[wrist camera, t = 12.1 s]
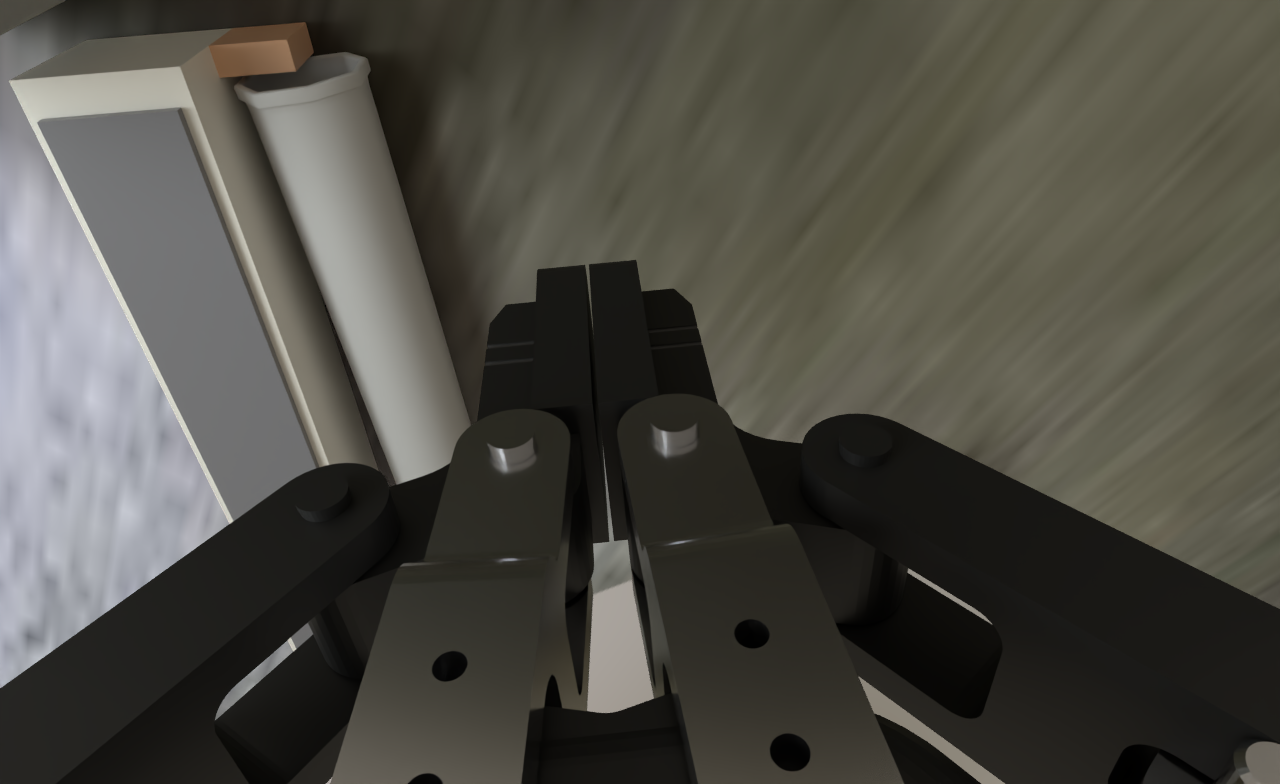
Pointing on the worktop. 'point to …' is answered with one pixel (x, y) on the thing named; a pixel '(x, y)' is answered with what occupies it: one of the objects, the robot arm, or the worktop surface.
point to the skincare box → (22, 11)
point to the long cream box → (203, 247)
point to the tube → (362, 252)
